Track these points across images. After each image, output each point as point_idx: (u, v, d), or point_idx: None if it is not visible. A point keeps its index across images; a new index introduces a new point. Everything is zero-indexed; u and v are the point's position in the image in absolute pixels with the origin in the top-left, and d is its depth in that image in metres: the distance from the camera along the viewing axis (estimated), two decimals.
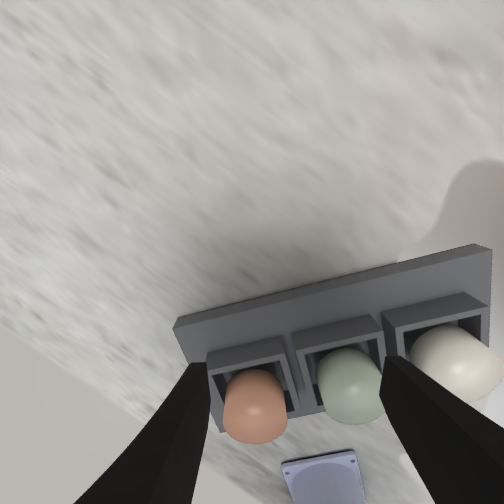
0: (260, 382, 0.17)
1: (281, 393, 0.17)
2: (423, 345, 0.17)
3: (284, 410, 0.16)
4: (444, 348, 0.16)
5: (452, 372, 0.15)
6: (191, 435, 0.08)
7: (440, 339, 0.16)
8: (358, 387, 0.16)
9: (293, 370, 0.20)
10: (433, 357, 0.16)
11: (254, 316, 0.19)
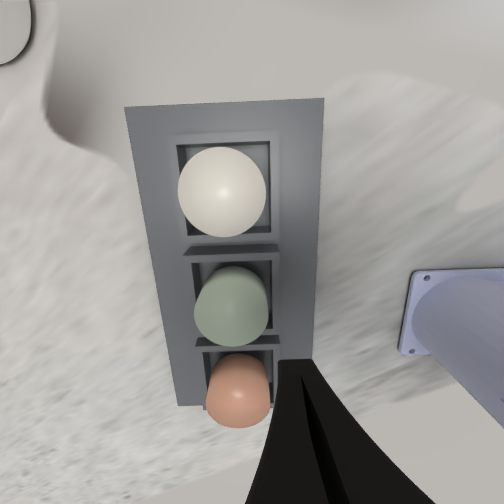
0: (211, 379, 0.18)
1: (230, 365, 0.17)
2: None
3: (231, 378, 0.16)
4: None
5: (209, 214, 0.12)
6: None
7: None
8: (212, 313, 0.14)
9: None
10: None
11: (175, 346, 0.20)
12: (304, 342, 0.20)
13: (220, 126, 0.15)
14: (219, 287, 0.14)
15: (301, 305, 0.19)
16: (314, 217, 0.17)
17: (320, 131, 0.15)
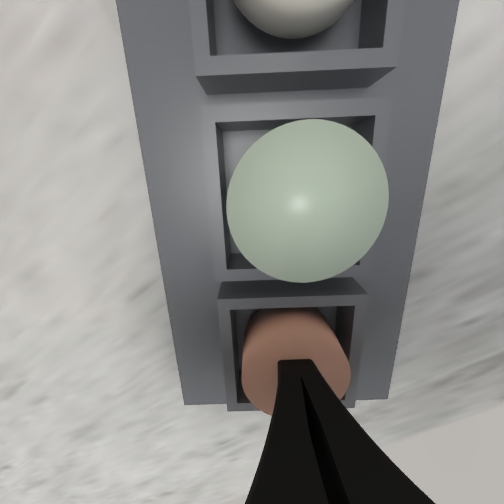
0: (247, 340, 0.11)
1: (279, 316, 0.10)
2: (243, 0, 0.07)
3: (287, 333, 0.09)
4: None
5: None
6: None
7: None
8: (265, 203, 0.07)
9: None
10: None
11: (181, 308, 0.12)
12: (391, 301, 0.12)
13: None
14: (288, 135, 0.06)
15: (395, 234, 0.11)
16: (442, 54, 0.09)
17: None
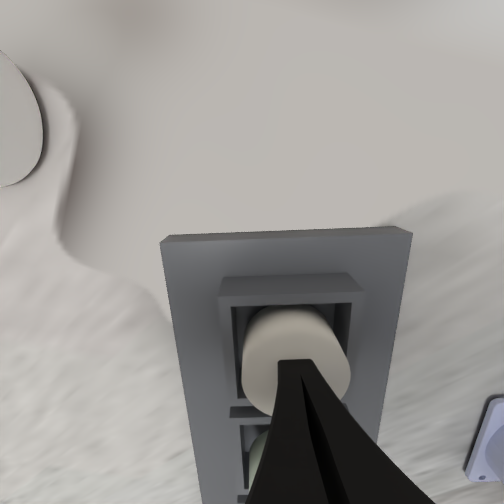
0: None
1: None
2: None
3: None
4: None
5: None
6: None
7: None
8: None
9: None
10: None
11: (208, 481, 0.17)
12: None
13: (279, 263, 0.12)
14: None
15: None
16: (386, 356, 0.14)
17: (403, 268, 0.12)
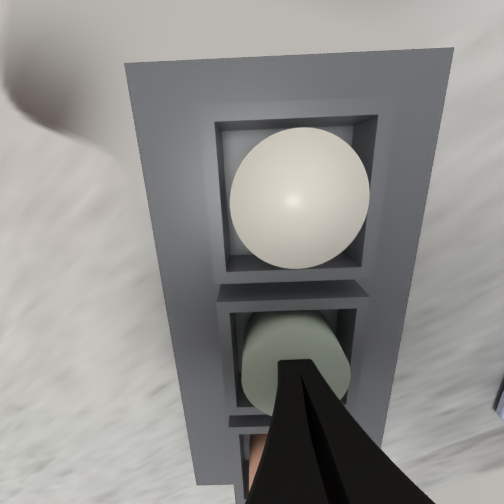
0: (253, 449, 0.13)
1: None
2: None
3: None
4: None
5: (276, 234, 0.08)
6: None
7: None
8: (268, 376, 0.10)
9: None
10: None
11: (195, 413, 0.14)
12: (376, 408, 0.14)
13: (280, 95, 0.09)
14: (282, 341, 0.09)
15: (378, 361, 0.13)
16: (412, 238, 0.11)
17: (440, 104, 0.09)
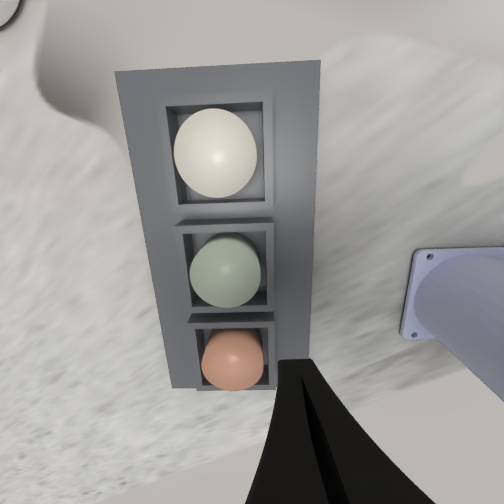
0: (207, 344, 0.18)
1: (225, 330, 0.18)
2: None
3: (225, 340, 0.17)
4: None
5: (203, 175, 0.13)
6: None
7: None
8: (206, 274, 0.15)
9: None
10: None
11: (168, 325, 0.20)
12: (301, 323, 0.19)
13: (212, 91, 0.14)
14: (213, 248, 0.15)
15: (298, 283, 0.18)
16: (311, 189, 0.16)
17: (316, 96, 0.14)
